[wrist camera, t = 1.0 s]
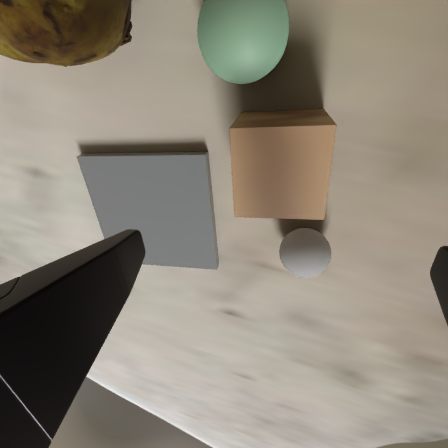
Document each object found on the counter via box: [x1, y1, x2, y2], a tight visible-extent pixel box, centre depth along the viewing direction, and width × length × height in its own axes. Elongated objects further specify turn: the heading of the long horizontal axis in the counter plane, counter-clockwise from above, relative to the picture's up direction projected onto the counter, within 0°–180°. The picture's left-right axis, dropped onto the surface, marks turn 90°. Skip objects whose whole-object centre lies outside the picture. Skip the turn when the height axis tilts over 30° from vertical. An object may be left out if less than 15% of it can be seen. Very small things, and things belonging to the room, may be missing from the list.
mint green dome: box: [198, 0, 289, 84], centre depth 14 cm, size 4×4×3 cm
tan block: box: [230, 109, 337, 220], centre depth 16 cm, size 5×5×5 cm
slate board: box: [77, 152, 219, 269], centre depth 23 cm, size 10×10×1 cm
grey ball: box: [279, 228, 331, 278], centre depth 20 cm, size 4×4×4 cm
